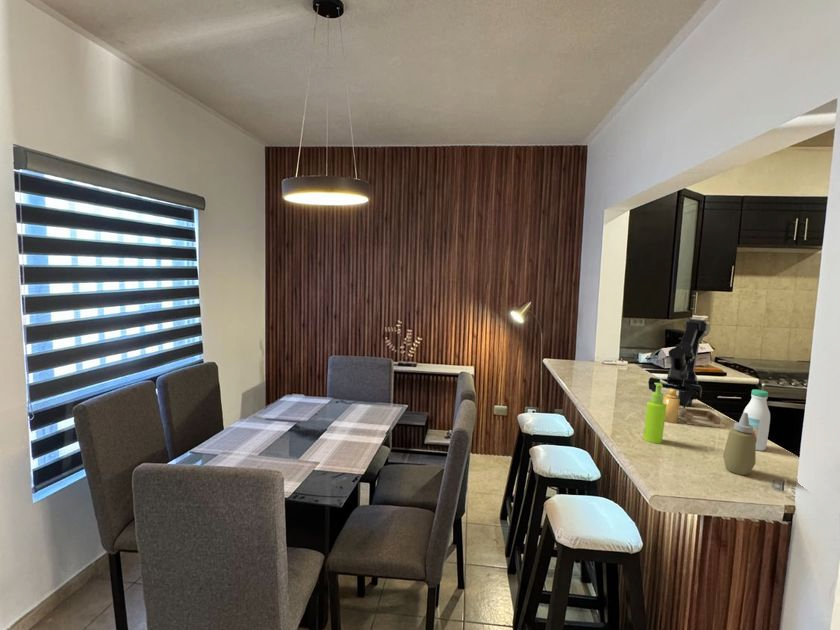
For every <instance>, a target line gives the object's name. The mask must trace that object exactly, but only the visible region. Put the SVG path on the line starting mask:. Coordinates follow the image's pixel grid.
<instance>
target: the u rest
mask: <svg viewBox="0 0 840 630" xmlns="http://www.w3.org/2000/svg"><path fill="white" fill-rule="evenodd" d="M679 417H680V419H681V421H683V422H684V423H685V422H686V423H685V424H687V425H691V424H694V425H693V426H700V425H703V426H704V427H709V426H712V427H713V428H718V427H720V429H727V426H726V425H725V424H723V423H721V419H722V418H721V417H720V416H718V415H716V413H713V412H712V411H711V410H706V409H698V408H697V409H696V408H687V407H685V408H683V407H679V411H678V418H679ZM703 426H702V427H703ZM712 427H711V428H712Z"/></svg>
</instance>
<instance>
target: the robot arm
mask: <svg viewBox="0 0 840 630" xmlns="http://www.w3.org/2000/svg"><path fill="white" fill-rule="evenodd" d="M684 330H685V331H684V333H683V335H682V339H681V341H680V343H678V344H676V345H675V347H673V348H671V349H670V350H668V360H669V364H670V365H671V366H670V368H669V369H668V372H667V377H666V381H667V382H662V381H661V379H660V378H659V377H653V376H651V377H650V378H648V381H647V382H648V383H647V384H648V389H649V390H650V391H652V393H654V392H656V385H655V384H654V383H661V384H662V385H663V388H664V389H668V390H669V389H670V388H673V389H676V392H677V391H678V395H677V396H678V398H680V403H679V406H681V405H682V408H687V407H694V408H695V407H696V405H695V404H694V403H693V401H694V400H697V399H698V400H699V399H701V398H702V390H703V388H702V386H701V385H700V384H699V381H698V377H697V374H696V373H695V368H696V363H697V358H698V355H699V348H700V347H699V346H700V344H701V343H700V342H701V340H702V339H703V338H704V337H705V336H706V333H707V332H708V330H709V323H707V321H706V320H699V319H689V320H688V321H687V320H686V321H685V323H684Z"/></svg>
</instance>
